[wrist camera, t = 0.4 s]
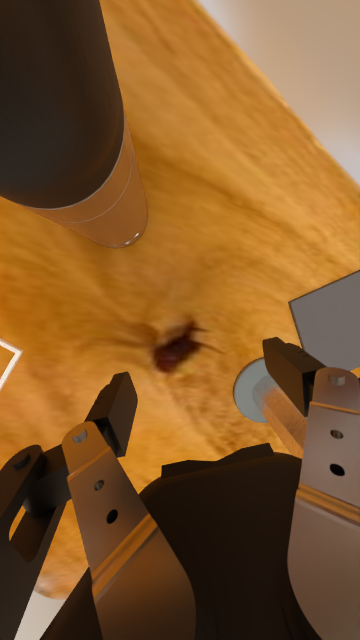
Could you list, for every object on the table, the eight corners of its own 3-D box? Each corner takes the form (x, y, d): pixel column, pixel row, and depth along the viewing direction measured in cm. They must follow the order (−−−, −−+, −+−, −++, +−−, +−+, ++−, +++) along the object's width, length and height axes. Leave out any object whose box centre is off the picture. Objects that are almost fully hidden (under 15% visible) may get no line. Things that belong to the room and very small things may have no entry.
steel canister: (245, 394, 34) (307, 484, 19) (270, 368, 33) (354, 441, 19) (269, 413, 35) (344, 511, 21) (293, 389, 35) (389, 472, 20)
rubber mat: (288, 302, 32) (290, 302, 32) (381, 260, 32) (385, 260, 31) (313, 384, 36) (316, 385, 35) (397, 347, 36) (401, 348, 35)
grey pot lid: (223, 374, 34) (228, 383, 31) (288, 345, 34) (300, 351, 31) (246, 428, 37) (253, 442, 34) (307, 402, 37) (320, 413, 34)
